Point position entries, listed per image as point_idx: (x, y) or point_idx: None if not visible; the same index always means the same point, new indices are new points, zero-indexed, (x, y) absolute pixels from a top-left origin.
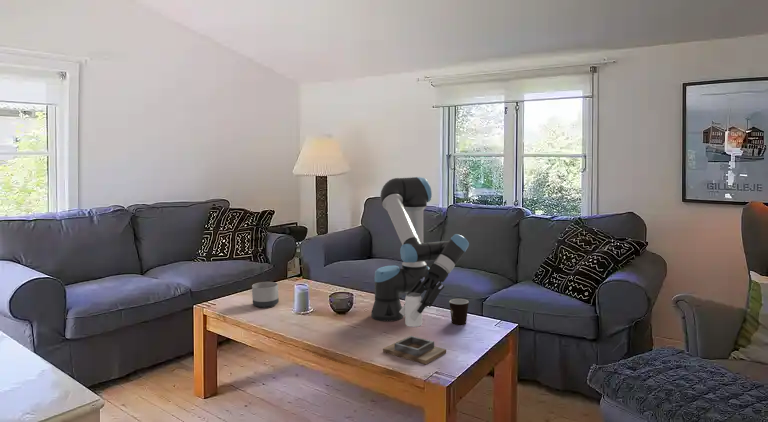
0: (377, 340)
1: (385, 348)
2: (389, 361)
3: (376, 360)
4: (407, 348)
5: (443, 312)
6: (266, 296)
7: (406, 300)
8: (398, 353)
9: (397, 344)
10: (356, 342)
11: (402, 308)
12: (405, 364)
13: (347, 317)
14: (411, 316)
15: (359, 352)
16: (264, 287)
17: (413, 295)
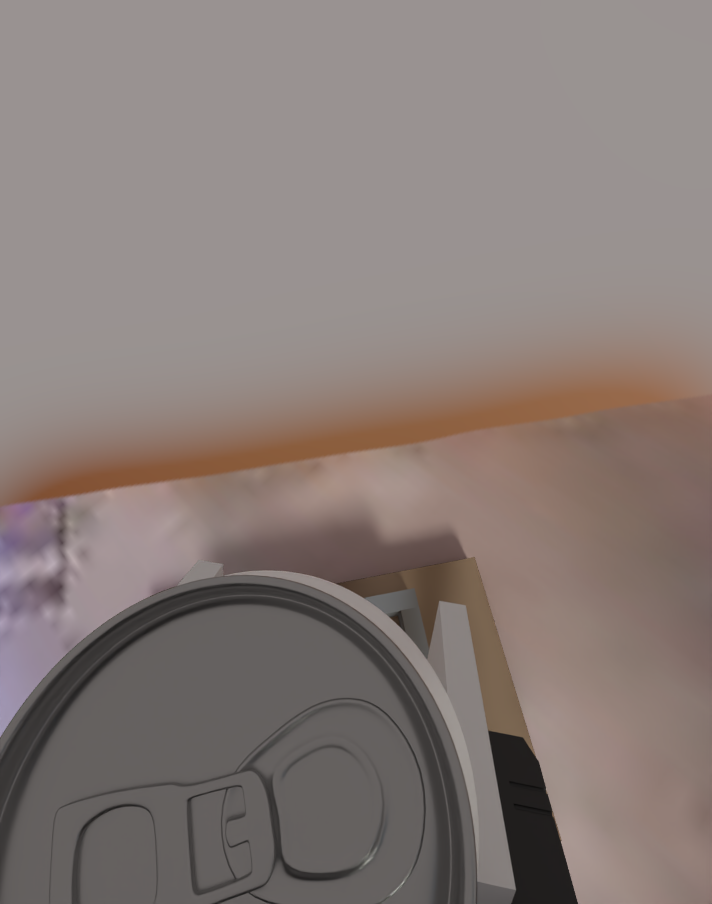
0: (676, 678)
1: (465, 568)
2: (341, 503)
3: (397, 465)
4: None
5: None
6: None
7: (303, 576)
8: (356, 580)
9: (389, 593)
10: (700, 546)
11: (452, 645)
12: (252, 538)
13: None
14: (194, 572)
15: (542, 467)
16: None
17: (214, 823)
